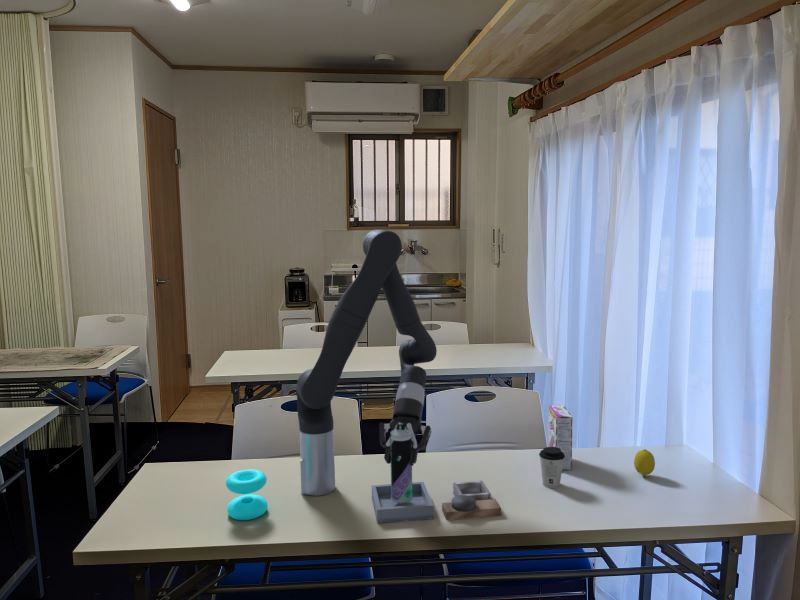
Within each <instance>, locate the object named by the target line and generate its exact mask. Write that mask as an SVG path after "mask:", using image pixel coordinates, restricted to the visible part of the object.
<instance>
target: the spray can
mask: <svg viewBox="0 0 800 600" xmlns="http://www.w3.org/2000/svg"><path fill="white" fill-rule="evenodd" d="M389 434H390V435H389V438H390V459H391V462H390V484H391V499H392V501H394V502H396V503H407V502H410V501H411V500H412V483H413V466H411V465H410V463H409V461H410V455H411V449H412V448H413V446H412V435H411V431H409V430H407V429H406V427H405V426H404V423H397V427H396V428H395V430H393V431H392V430H391V431H390V433H389Z"/></svg>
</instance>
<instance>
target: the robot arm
mask: <svg viewBox="0 0 800 600" xmlns="http://www.w3.org/2000/svg"><path fill="white" fill-rule="evenodd" d="M362 250H363V253H364V255H365V259H364V261H363V263H362V265H361V268H360V271H359V273H358V274H357V276H356V277H355V279H354V280H353V282H352V283H350V285H349V286H348V287H347V289H346V290H345V291H344V293H343V294H342V295H341V297H340V298H339V299H338V302H337V304H336V305H335V308H334V310H333V312H332V314H331V317H330V318H329V322H328V324H327V328H326V329H325V333H324V334H325V335H324V339H323V344H322V347H321V351H320V353H319V354H320V355H319V357H318V358H317V360H316V362H315V364H314V366H313V368H310V369H307V370H304V371H303V372H302V373H301V374H300V375H299V377H298V379H297V383H296V404H297V405H296V406H297V418H298V427H299V448H300V449H299V453H300V454H299V455H300V456H299V463H300V489H301V490H300V491H301V492H300V493H301V495H308V496H315V497H316V496H317V497H318V496H324V495H328V494H330V493H332V492H333V491H335V489H336V471H335V470H336V469H335V468H336V467H335V438H334V437H335V435H334V433H335V432H334V428H335V427H334V426H335V425H334V416H333V412H332V400H333V398H334V396H335V394H336V390H337V388H338V385H339V381H340V379H341V376H342V374H343V371H344V369H345V365H346V364H347V362H348V359H349V358H350V357H351V354H352V352H353V350H354V348H355V346H356V344H357V343H358V340H359V338H360V336H361V334H362V332H363V330H364V328H365V326H366V324H367V322H368V320H369V317H370V315H371V313H372V311H373V308H374V306H375V304H376V302H377V300H378V297H379V295H380V293H381V290H382V291H383V294H384V295H385V298H386V302H387V304H388V307H389V310H390V314H391V316H392V320H393V321H394V326H395V327H396V331H397V332H398V334H400V335H402V336H409V337H411V338H412V339H407V340H404V341H402V343H401V344H400V345H399V349H398V357H399V364H400V379H399V384H398V385H399V386H398V389H397V391H396V395H395V396H396V397H395V402H394V407H393V414H392V419H391V420H390V422H389V423H385V422H383V421H382V422H380V423H379V424H378V425H379V427H378V428H379V429H378V430H379V433H378V434H379V437H378V438H379V444H380V446H381V447H382V448H385V451H384V456H383V458H384V461H385V462H386V464H388V465H389V464H390V465H391V459H390V437H389V438H388V440H387V437H386V436H387V435H386V433H388V432H389V429H390V430H391V431H393V430H395V428H396V427H397V423H404V426H405V427H406V429H407V430H409V431H411V435H412V449H411V455H410V461H409V463H410V465H411V466H412V467H414V464H417V460H418V453H419V452H420V451H425V450H427V448H428V447H427V446H428V443H429V440H430V438H431V434H432V428H431V426H430V425H426V426H425V425H422V423H421V422H422V416H423V410H424V405H425V389H426V381H427V372H426V369H424V368H423V367H421V366H418V365H417V364H424V363H431V362H432V361H434V360H435V358H436V357H437V352H438V351H437V346H436V343H435V341H434V339H433V337H432V336H431V335H430V333H429V332H428V330H427V329H426V328H425V326H424V324H423V323H422V321H421V317H420V315H419V312H418V310H417V306H416V304H415V301H414V299H413V297H412V295H411V293H410V291H409V289H408V288H407V285H406V284H405V282H404V280H403V277H402V276H401V273H400V270H399V268H398V265H397V264H398V263H397V262H398V260H399V258H400V256H401V253H402V250H403V244H402V240H401V238H400V236H399V235H398V234H397V233H396V232H394V231H392V230H389V229H388V230H387V229H381V228H380V229H379V228H377V229H373V230H371V231H369V232H368V233H367V234H366V235H365V236H364V238H363V241H362ZM420 432H421V434H422V437H421V439H420V443H418V442H417V438H416V436H417V435H418V434H419V433H420Z"/></svg>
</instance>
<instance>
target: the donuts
mask: <svg viewBox="0 0 800 600" xmlns="http://www.w3.org/2000/svg"><path fill="white" fill-rule="evenodd" d="M266 483H267V476H266V474H265V473H264V471H263V472H262V471H261V470H258V469H253V468H250V469H241V470H238V471H235V472H232V473H230V475H228V477H227V478H226V481H225V486H226V489H227V490H229V491H230V492H232V493H234V494H237V495H239V496H236V497H235V498H233V499H232V500H231V501H230V502H229V503H228V505H227V514H228V515H229V517H231V518H232V519H234V520H237V521H250V520H253V519H257V518H260V517H261V516H263V515H264V514H265V513H266V512H267V510H268V507H269V506H268V505H269V504H268V501H267V500H266V498H264V497H263V496H262V495H258V494H253V493H256V492H258V491H260V490H261V489H262V488H263V487H265V485H266Z"/></svg>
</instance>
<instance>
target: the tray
mask: <svg viewBox="0 0 800 600" xmlns="http://www.w3.org/2000/svg"><path fill="white" fill-rule="evenodd" d="M371 501H372V505H373V509H374V514H375V519H376V523H377V524H386V523H397V522H398V523H400V522H409V521H410V522H412V521H424V520H434V519H435V517H434V507H435V506H434V503H433V500H432V498H431V496H430V494H429V492H428V489H427V487H426V484H425V482H424V481H415V482H413V481H412V500H411V501H410V502H407V503H396V502H394V501H392V499H391V483H390V484H389V483H388V484H387V483H386V484H378V485H377V484H375V485H374V484H373V485H371Z"/></svg>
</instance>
